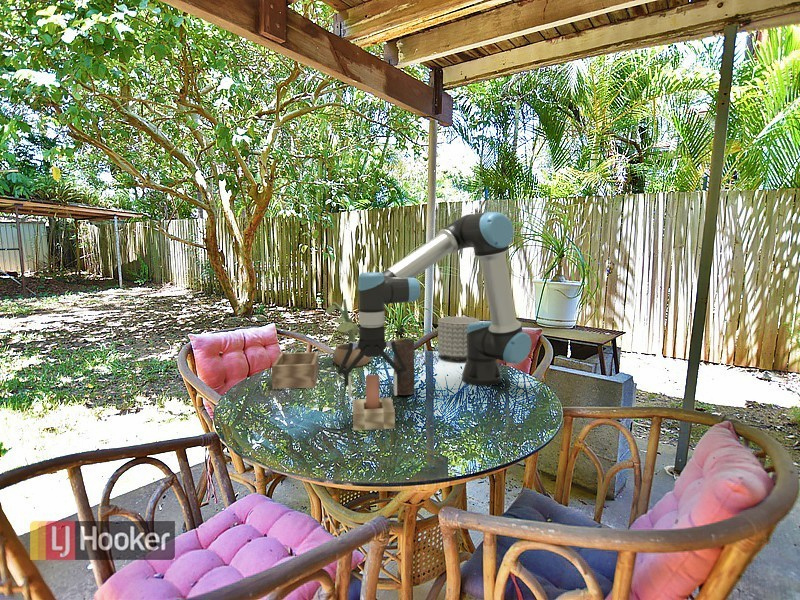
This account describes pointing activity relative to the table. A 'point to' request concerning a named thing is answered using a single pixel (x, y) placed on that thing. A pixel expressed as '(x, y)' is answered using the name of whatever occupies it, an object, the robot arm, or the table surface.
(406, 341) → the brown log
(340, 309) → the potted plant
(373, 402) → the peg
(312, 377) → the frame
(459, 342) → the planter
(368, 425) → the socket block
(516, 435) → the table surface
